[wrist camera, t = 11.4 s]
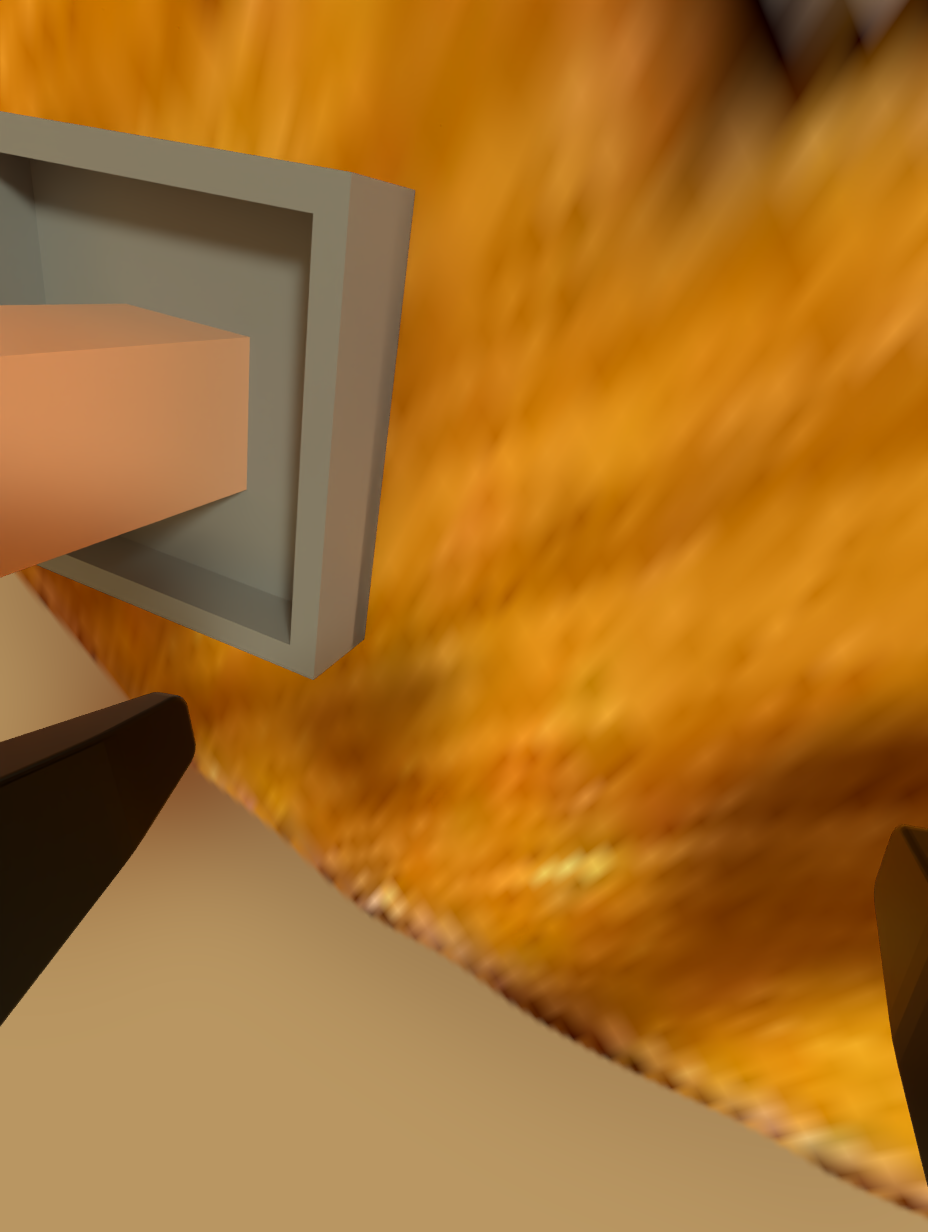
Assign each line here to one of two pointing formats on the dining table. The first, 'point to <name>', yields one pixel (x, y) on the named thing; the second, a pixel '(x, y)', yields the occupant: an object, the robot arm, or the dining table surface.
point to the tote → (278, 362)
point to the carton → (112, 423)
